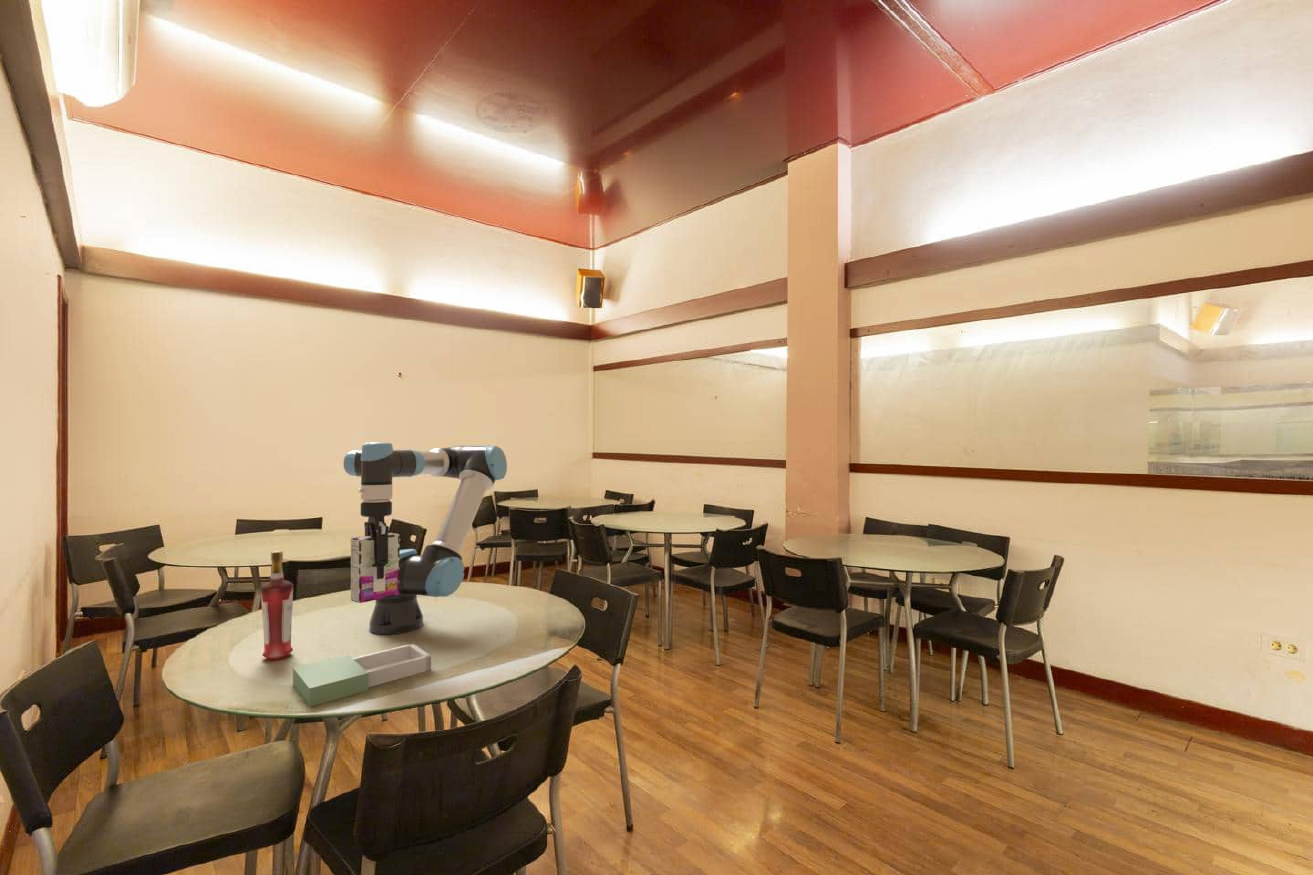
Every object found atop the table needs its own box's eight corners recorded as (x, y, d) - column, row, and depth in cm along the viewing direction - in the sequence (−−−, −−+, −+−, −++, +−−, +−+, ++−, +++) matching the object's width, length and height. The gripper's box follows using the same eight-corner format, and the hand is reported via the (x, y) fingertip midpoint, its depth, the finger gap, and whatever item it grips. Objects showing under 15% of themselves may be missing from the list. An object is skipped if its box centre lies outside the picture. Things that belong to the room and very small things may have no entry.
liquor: (264, 654, 159) (263, 550, 159) (296, 650, 162) (295, 548, 162) (258, 663, 153) (257, 555, 153) (291, 659, 156) (290, 553, 155)
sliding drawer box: (293, 684, 140) (292, 667, 140) (410, 654, 158) (409, 639, 158) (309, 706, 128) (309, 688, 128) (434, 672, 147) (433, 655, 147)
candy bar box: (389, 592, 162) (390, 532, 162) (400, 594, 159) (401, 533, 159) (348, 600, 153) (349, 537, 153) (359, 603, 150) (360, 538, 150)
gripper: (351, 499, 161) (350, 584, 161) (371, 504, 147) (370, 597, 146) (381, 497, 166) (380, 580, 166) (402, 502, 152) (401, 593, 151)
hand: (375, 588), depth 156 cm, fingers closed on candy bar box, 6 cm apart
